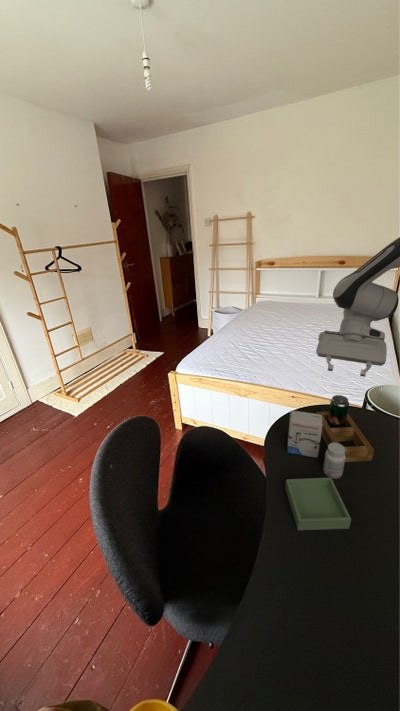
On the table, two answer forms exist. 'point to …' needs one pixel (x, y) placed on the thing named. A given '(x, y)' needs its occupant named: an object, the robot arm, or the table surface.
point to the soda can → (338, 411)
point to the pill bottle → (334, 460)
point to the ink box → (304, 433)
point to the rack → (347, 439)
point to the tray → (316, 504)
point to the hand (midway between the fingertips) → (345, 373)
